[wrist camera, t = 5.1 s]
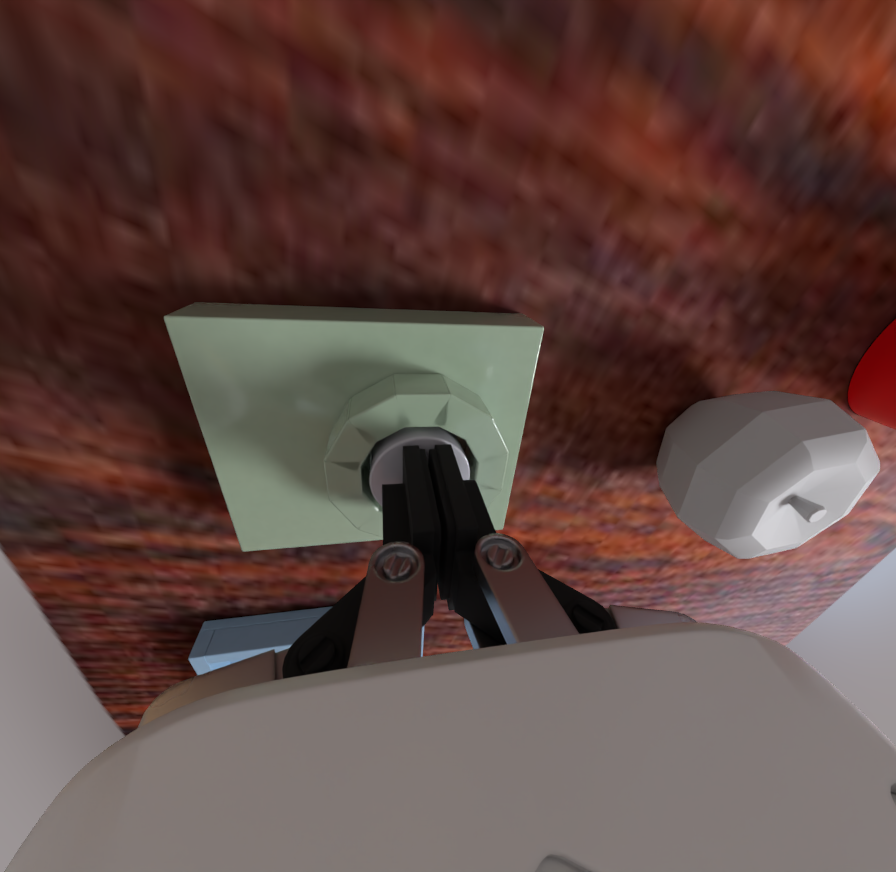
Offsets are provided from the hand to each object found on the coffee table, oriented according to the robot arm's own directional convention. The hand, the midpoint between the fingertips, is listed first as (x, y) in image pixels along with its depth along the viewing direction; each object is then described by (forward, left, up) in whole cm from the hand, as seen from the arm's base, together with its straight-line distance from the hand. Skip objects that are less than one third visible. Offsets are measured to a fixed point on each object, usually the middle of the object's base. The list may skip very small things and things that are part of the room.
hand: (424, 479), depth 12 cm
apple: (+15, -1, -5) cm, 16 cm away
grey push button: (0, 0, -2) cm, 2 cm away
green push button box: (-2, 0, -4) cm, 4 cm away
